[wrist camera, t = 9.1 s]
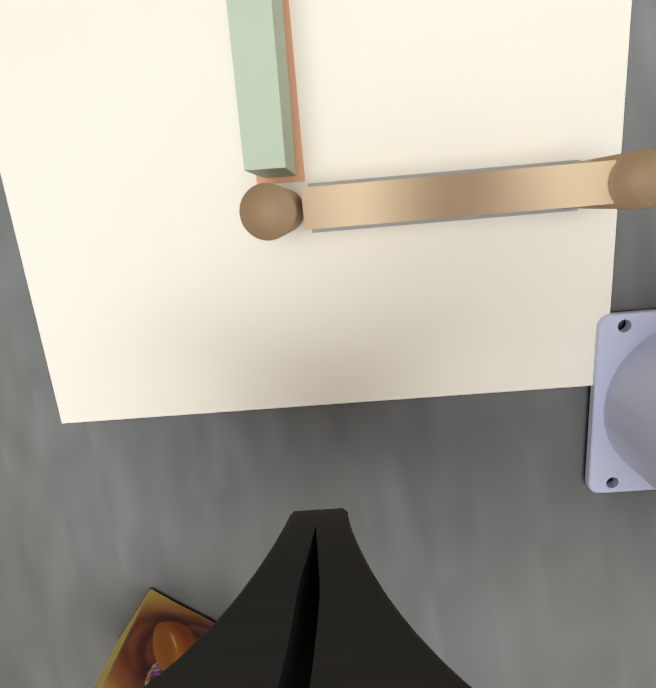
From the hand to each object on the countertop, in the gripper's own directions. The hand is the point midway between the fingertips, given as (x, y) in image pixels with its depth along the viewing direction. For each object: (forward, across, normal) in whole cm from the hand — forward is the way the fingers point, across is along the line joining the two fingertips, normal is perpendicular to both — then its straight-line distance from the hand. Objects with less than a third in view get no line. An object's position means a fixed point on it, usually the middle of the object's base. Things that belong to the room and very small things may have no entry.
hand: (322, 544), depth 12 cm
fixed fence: (+9, -4, -8) cm, 13 cm away
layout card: (+9, 0, -10) cm, 14 cm away
